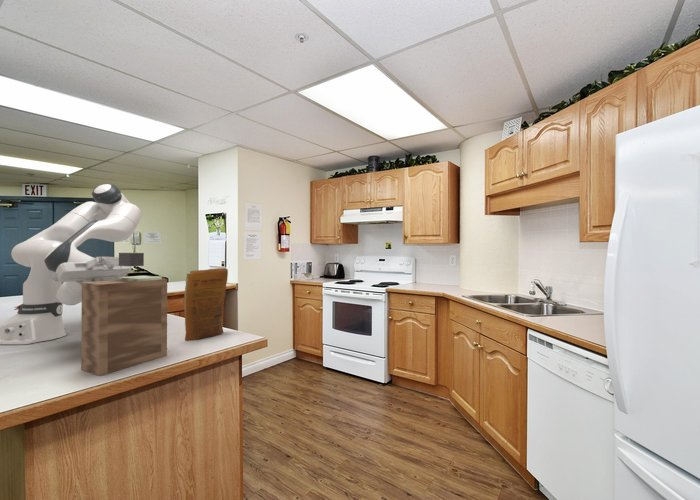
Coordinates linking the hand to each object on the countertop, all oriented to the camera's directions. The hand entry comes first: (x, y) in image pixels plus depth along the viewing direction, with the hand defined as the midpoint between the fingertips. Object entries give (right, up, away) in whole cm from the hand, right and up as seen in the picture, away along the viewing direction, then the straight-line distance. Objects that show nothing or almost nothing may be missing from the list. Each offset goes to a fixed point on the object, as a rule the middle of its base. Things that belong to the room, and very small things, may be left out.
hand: (106, 259), depth 106 cm
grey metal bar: (+6, -2, -3) cm, 7 cm away
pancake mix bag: (+21, -33, +26) cm, 47 cm away
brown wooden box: (+9, -33, -4) cm, 34 cm away
